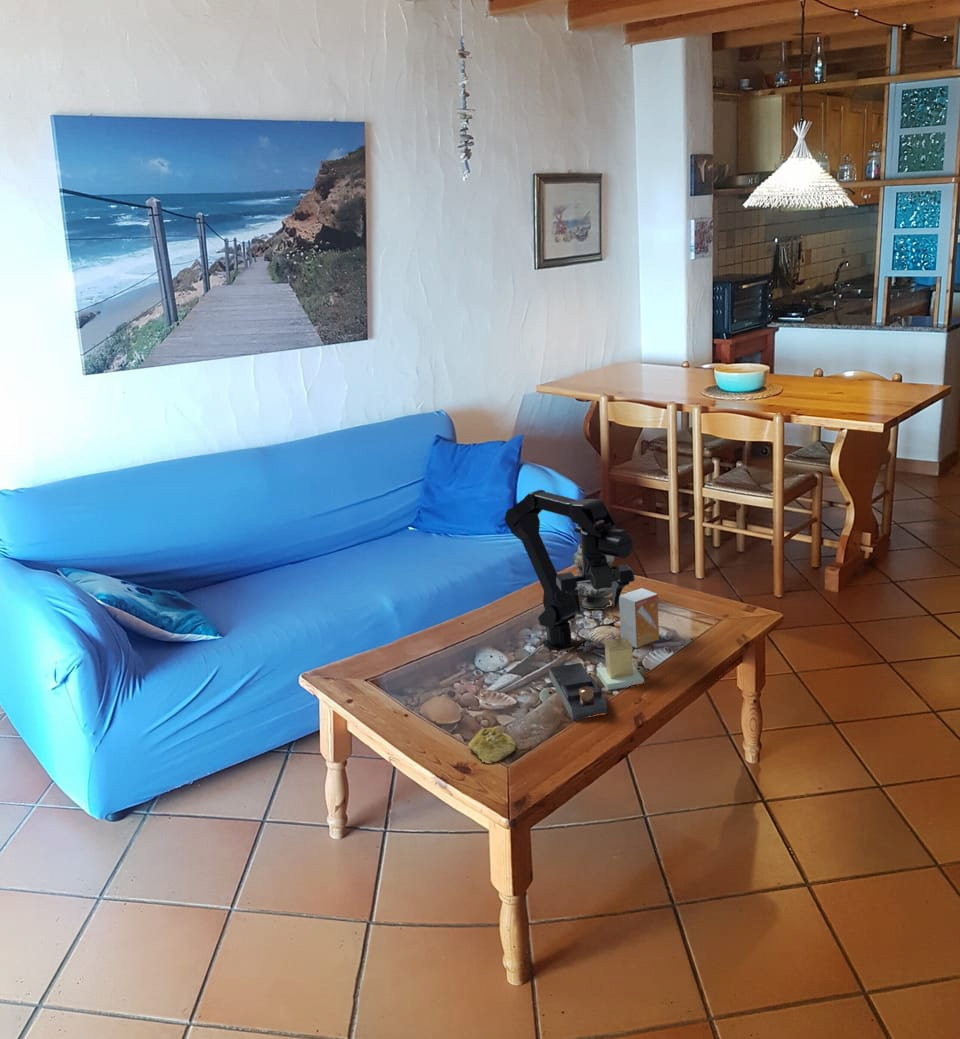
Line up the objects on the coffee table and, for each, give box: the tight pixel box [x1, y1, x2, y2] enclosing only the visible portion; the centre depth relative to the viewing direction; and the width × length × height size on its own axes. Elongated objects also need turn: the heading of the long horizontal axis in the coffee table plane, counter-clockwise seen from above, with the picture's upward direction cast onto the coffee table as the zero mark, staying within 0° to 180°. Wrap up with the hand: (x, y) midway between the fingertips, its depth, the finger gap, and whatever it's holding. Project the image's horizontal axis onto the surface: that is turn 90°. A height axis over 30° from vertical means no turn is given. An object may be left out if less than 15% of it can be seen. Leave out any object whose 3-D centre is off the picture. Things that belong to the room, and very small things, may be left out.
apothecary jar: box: [572, 543, 615, 610], centre depth 277 cm, size 12×12×18 cm
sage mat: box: [596, 664, 645, 691], centre depth 232 cm, size 9×9×2 cm
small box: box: [618, 587, 660, 649], centre depth 251 cm, size 8×6×13 cm
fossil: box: [468, 727, 517, 763], centre depth 206 cm, size 11×6×10 cm
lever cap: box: [603, 637, 634, 679], centre depth 231 cm, size 5×6×8 cm
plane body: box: [548, 662, 608, 721], centre depth 225 cm, size 22×8×6 cm, turn 9°
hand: (596, 609), depth 242 cm, fingers open, 9 cm apart
